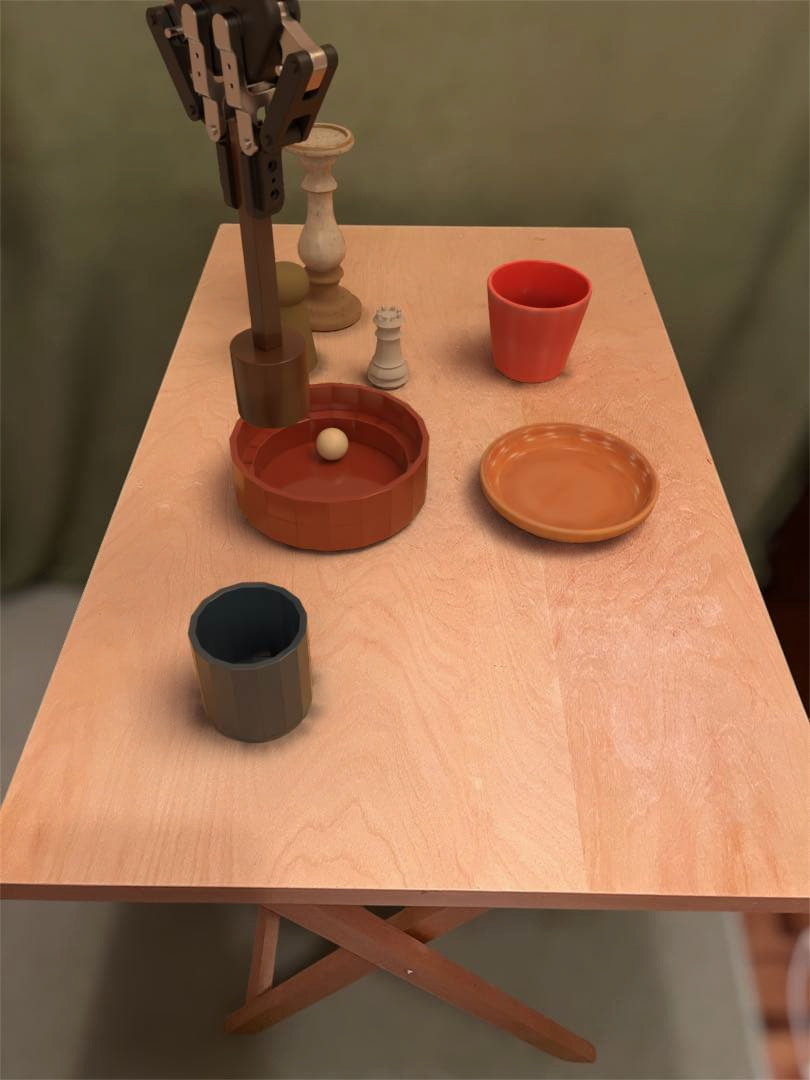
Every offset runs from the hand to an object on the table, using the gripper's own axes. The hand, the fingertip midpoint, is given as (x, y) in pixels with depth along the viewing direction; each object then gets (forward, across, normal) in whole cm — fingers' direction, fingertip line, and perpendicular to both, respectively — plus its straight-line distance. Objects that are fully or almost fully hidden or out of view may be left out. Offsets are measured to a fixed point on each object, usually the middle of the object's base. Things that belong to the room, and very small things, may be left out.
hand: (254, 208), depth 53 cm
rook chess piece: (+32, -16, +27) cm, 45 cm away
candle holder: (+32, -31, +32) cm, 54 cm away
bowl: (+31, -6, +10) cm, 34 cm away
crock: (+31, +7, -9) cm, 33 cm away
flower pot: (+32, -7, +40) cm, 52 cm away
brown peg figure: (+32, -26, +22) cm, 46 cm away
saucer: (+32, +9, +25) cm, 41 cm away
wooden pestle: (+14, 0, 0) cm, 14 cm away
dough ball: (+29, -9, +13) cm, 34 cm away
